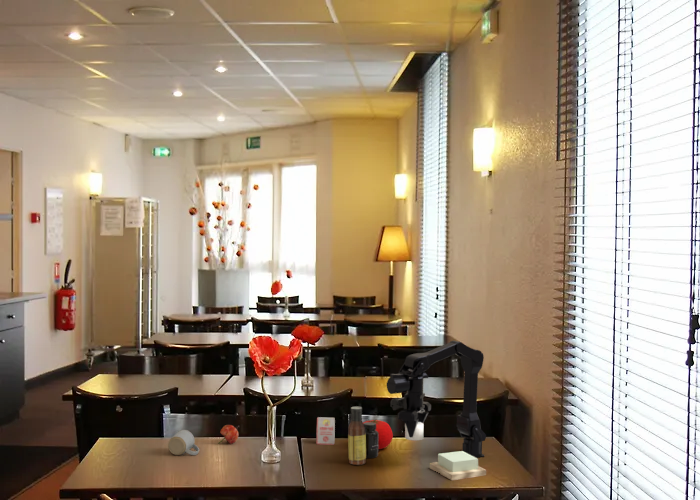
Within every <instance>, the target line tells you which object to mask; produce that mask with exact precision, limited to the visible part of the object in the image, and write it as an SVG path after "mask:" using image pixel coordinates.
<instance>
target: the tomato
mask: <svg viewBox="0 0 700 500" xmlns="http://www.w3.org/2000/svg"><path fill="white" fill-rule="evenodd" d="M362 422H363V423H366V422H373V423H376V431H377V432H378V433H379V443H378V450H382V449H384V448H387V447H389V445H391V444H392V443H391V442H392V441H393V437H394V434H393V431H392V428H391V426H390V425H389V423H387V421H383V420H378V419H372V420H369V419H368V420H365V421H362Z"/></svg>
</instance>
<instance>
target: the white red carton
mask: <svg viewBox="0 0 700 500" xmlns="http://www.w3.org/2000/svg"><path fill="white" fill-rule="evenodd" d="M335 423H336V420H335V417H321V416H320V417H319V416H317V418H316V439H315V440H316V445H329V446H331V445H332V446H334V445H335V438H336V437H335V432H336V431H335V430H336V429H335V428H336V427H335V426H336V425H335Z"/></svg>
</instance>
